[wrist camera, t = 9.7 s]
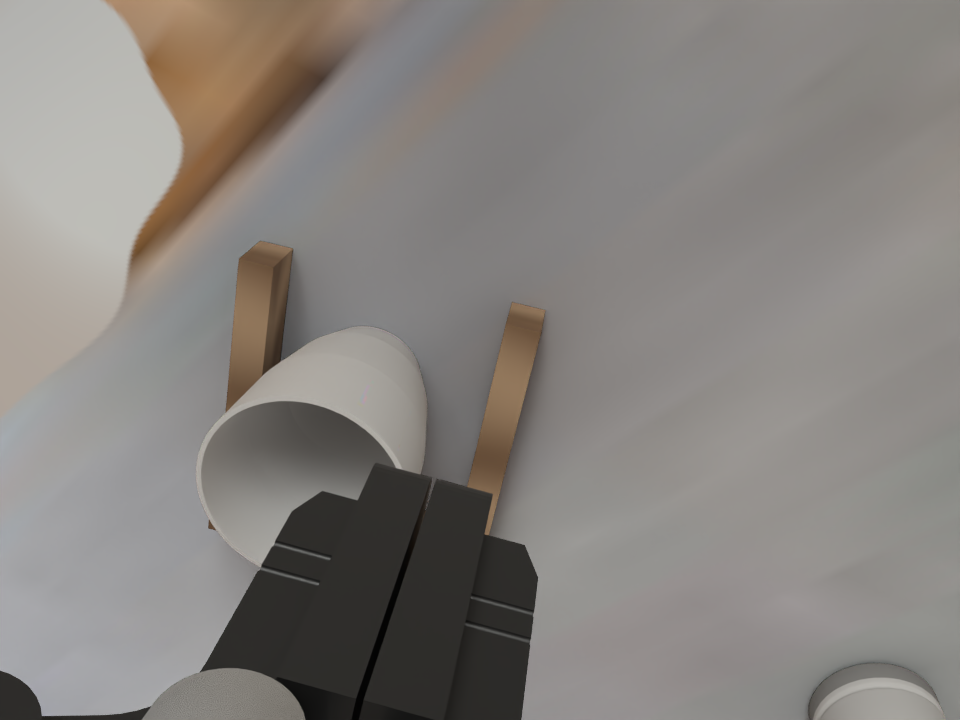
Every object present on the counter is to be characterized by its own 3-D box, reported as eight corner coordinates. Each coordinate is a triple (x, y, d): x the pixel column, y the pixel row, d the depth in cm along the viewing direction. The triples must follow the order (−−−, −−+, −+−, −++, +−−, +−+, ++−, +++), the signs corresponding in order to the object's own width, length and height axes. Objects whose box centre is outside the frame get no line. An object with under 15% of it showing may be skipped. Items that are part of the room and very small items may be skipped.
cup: (259, 316, 41) (160, 421, 32) (423, 275, 39) (366, 375, 30) (322, 463, 44) (247, 597, 35) (476, 432, 42) (439, 565, 33)
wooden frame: (260, 240, 39) (229, 266, 36) (545, 310, 39) (539, 342, 36) (236, 487, 45) (208, 528, 42) (483, 550, 45) (473, 595, 42)
